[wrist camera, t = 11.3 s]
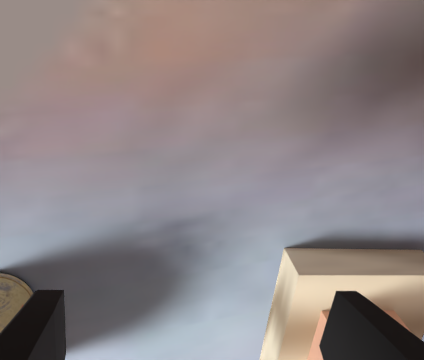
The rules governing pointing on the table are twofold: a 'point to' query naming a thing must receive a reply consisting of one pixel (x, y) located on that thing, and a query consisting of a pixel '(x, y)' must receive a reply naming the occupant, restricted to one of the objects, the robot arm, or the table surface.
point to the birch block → (339, 281)
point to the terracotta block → (315, 352)
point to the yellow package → (11, 297)
